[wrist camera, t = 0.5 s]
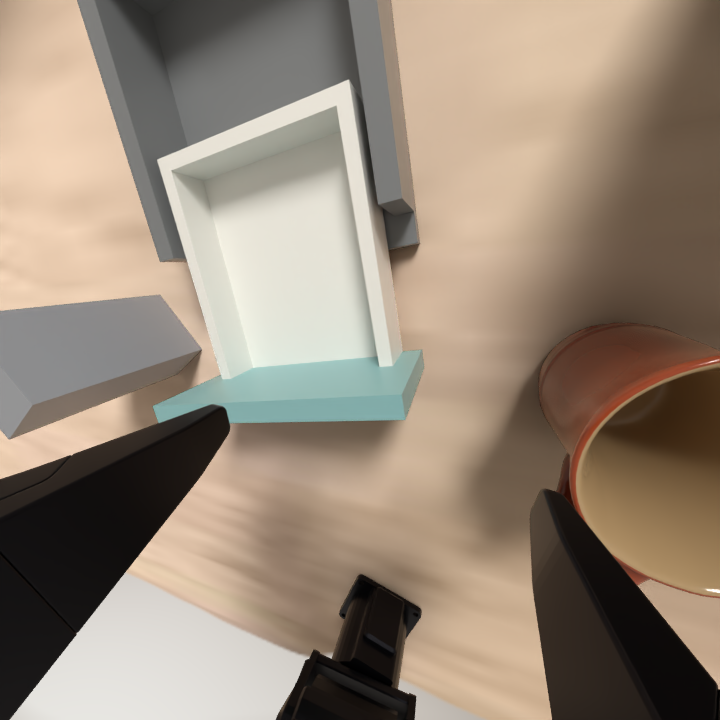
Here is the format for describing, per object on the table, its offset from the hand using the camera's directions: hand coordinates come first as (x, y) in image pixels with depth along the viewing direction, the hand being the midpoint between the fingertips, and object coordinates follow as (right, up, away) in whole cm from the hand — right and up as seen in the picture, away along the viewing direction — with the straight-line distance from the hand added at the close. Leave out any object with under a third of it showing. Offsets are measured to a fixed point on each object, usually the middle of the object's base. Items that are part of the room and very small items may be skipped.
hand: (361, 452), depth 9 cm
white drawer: (-4, +9, +13) cm, 16 cm away
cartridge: (-18, +5, +20) cm, 27 cm away
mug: (+14, 0, +11) cm, 18 cm away
